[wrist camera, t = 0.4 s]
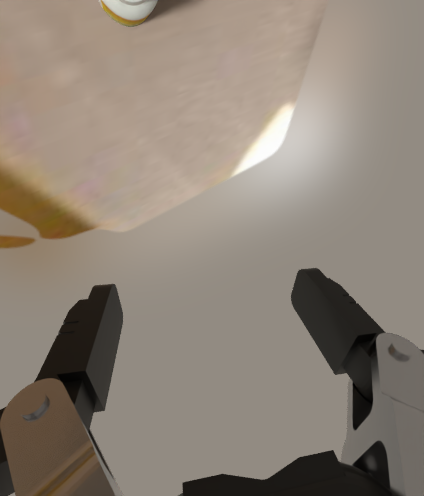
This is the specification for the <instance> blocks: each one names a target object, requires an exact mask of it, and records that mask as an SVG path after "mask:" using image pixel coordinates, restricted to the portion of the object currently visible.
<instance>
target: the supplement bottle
mask: <svg viewBox="0 0 424 496" xmlns="http://www.w3.org/2000/svg"><path fill="white" fill-rule="evenodd" d="M98 1H99V3H100V5H101V6H102V8H103V9H104V11H105V12H106V13H107V14H108V15H109V16H110V17H111V18H112V19H113V20H114V21H116V22H117V23H119V24H121V25H124V26H128V27H134V26H137V25H139V24H141V23H142V22H143V21H145V19H146V18H147V17H148V16H149V14H150V13H151V12H152V11H153V9H154V8H155V6H156V4H157V1H158V0H98Z"/></svg>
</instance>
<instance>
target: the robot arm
mask: <svg viewBox="0 0 424 496" xmlns="http://www.w3.org/2000/svg"><path fill="white" fill-rule="evenodd" d="M291 301H292V304H293V307H294V309H295V310H296V312H297V314H298V315H299V317H300V318H301V320H302V322H303V323H304V325H305V327H306V328H307V330H308V331H309V333H310V335H311V336H312V338H313V339H314V341H315V343H316V344H317V346H318V348H319V349H320V351H321V352H322V354H323V356H324V357H325V359H326V361H327V362H328V364H329V365H330V367H331V369H332V370H333V372H334V374H335V375H337V374H344V373H347V374H348V375H349V377H350V380H349V382H348V415H347V436H346V440H345V443H344V446H343V450H342V456H341V462H339V461H338V459H337V457H336V455H335V453H334V451H333V450H332V451H327V452H322V453H318V454H313V455H308V456H304V457H299V458H298V459H296V460H295V461H293V462H292V463H290V464H289V465H287V466H286V467H284V468H283V469H282V470H280V471H279V472H277V473H276V474H275V475H273V476H271V477H270V478H268V479H265V480H260V479H252V478H245V477H239V476H233V475H226V474H220V475H216V476H211V477H207V478H202V479H197V480H192V481H188V482H184V483H183V493H182V494H180V495H179V496H424V350H420V349H419V348H418V347H416V346H415V345H414V344H413V343H412V342H410V341H409V340H407V339H405V338H403V337H401V336H399V335H395V334H392V333H386V332H384V331H383V329H381V327H380V326H379V325H378V324H377V323H376V322H375V321H374V320H373V319H372V318H371V317H370V316H369V315H368V314H367V313H366V312H365V311H364V310H363V308H362V307H361V306H360V305H359V304H356V301H355V300H354V299H353V298H352V297H351V296H349V294H348V293H347V292H346V291H345V290H344V289H343V288H342V286H340V285H339V284H338V283H336V282H334V281H333V280H331V279H330V278H326V276H325V275H324V274H323V273H322V272H321V271H320V270H319V269H317V268H311V269H301V270H299V271H298V273H297V276H296V280H295V283H294V287H293V290H292V294H291ZM122 324H123V312H122V308H121V304H120V300H119V296H118V292H117V288H116V286H115V284H108V285H95V286H94V287H93V288H92V291H91V293H90V295H89V298H88V299H85V300H79V301H78V302H77V303H76V304H75V305H74V306H73V307H72V308H71V309H70V310H69V312H68V314H67V316H66V318H65V320H64V322H63V325H62V327H61V329H60V331H59V334H58V336H57V337H56V339H55V341H54V343H53V345H52V347H51V349H50V351H49V353H48V355H47V358H46V360H45V362H44V364H43V366H42V368H41V370H40V372H39V374H38V376H37V378H36V380H35V381H34V383H32V384H30V385H28V386H27V387H25V388H24V389H22V390H21V391H20V392H19V393H18V394H17V395H16V396H15V397H14V398H13V399H12V400H11V401H10V402H9V404H8V405H7V407H5V408H3V409H1V410H0V496H8V495H10V494H12V493H14V492H15V495H16V496H124V495H123V493H122V491H121V490H120V488H119V486H118V484H117V482H116V480H115V478H114V476H113V474H112V472H111V470H110V468H109V466H108V464H107V462H106V460H105V458H104V456H103V454H102V452H101V450H100V448H99V446H98V444H97V442H96V440H95V438H94V436H93V434H92V432H91V430H90V424H91V420H92V416H93V412H99V411H104V410H105V406H106V401H107V396H108V391H109V387H110V382H111V377H112V372H113V368H114V363H115V358H116V353H117V348H118V343H119V339H120V334H121V329H122Z"/></svg>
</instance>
